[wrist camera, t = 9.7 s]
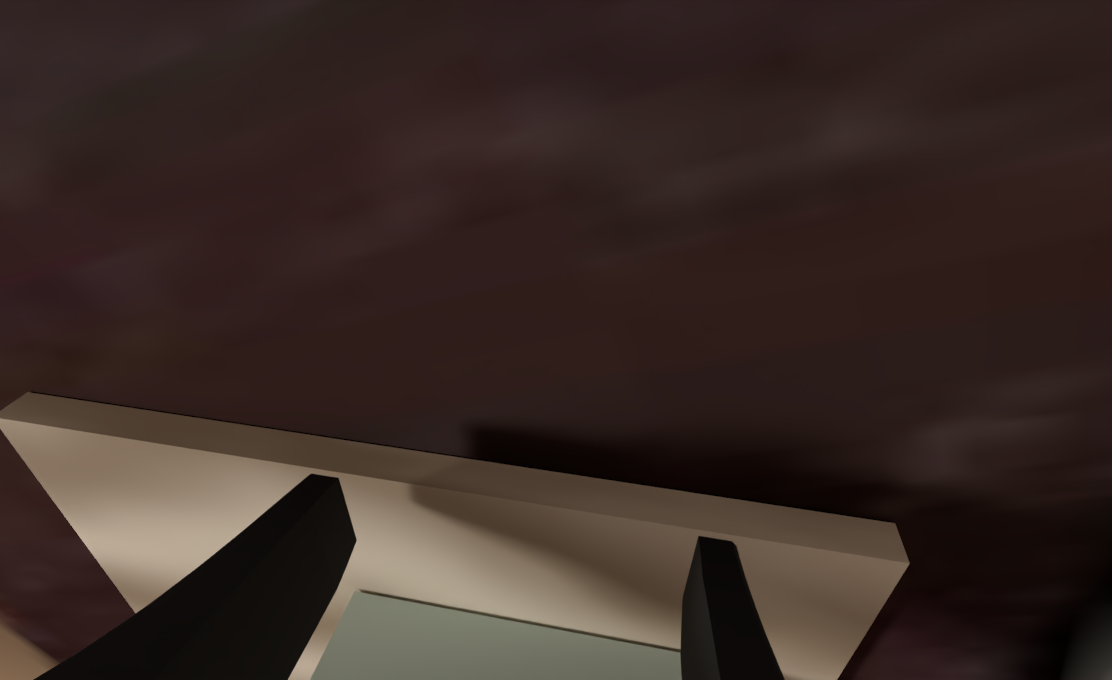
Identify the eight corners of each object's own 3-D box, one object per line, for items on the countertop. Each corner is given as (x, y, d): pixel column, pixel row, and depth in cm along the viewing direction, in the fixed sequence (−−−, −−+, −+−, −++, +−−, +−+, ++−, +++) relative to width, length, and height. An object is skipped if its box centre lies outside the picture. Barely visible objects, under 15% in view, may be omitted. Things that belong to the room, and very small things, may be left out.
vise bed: (741, 797, 22) (743, 829, 21) (220, 683, 25) (205, 708, 24) (895, 522, 13) (909, 563, 12) (27, 391, 16) (-8, 417, 15)
